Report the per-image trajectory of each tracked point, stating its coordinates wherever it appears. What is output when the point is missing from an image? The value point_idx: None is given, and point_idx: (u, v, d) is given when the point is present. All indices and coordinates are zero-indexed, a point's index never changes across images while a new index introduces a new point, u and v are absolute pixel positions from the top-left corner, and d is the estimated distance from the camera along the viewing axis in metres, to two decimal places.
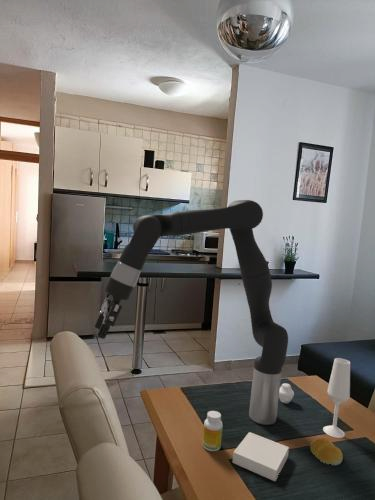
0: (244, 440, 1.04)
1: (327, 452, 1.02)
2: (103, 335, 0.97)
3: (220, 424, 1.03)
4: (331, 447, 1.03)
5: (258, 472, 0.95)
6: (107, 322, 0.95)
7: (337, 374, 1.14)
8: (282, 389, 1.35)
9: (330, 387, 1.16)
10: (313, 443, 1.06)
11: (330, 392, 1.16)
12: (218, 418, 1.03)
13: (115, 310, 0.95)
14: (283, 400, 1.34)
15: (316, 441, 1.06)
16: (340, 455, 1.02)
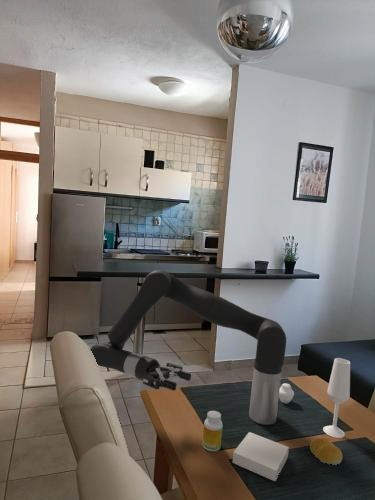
0: (244, 440, 1.04)
1: (327, 452, 1.02)
2: (171, 386, 1.05)
3: (220, 424, 1.03)
4: (331, 447, 1.03)
5: (258, 472, 0.95)
6: (156, 387, 1.06)
7: (337, 374, 1.14)
8: (282, 389, 1.35)
9: (330, 387, 1.16)
10: (313, 443, 1.06)
11: (330, 392, 1.16)
12: (218, 418, 1.03)
13: (146, 381, 1.08)
14: (283, 400, 1.34)
15: (315, 440, 1.07)
16: (340, 455, 1.02)
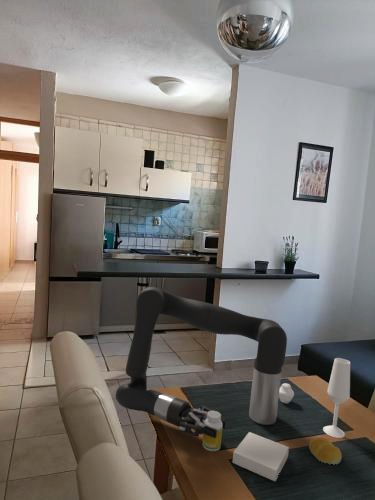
0: (244, 440, 1.04)
1: (326, 451, 1.02)
2: (211, 433, 1.00)
3: (220, 424, 1.03)
4: (330, 446, 1.04)
5: (258, 472, 0.95)
6: (196, 434, 1.01)
7: (337, 374, 1.14)
8: (282, 389, 1.35)
9: (330, 387, 1.16)
10: (312, 442, 1.06)
11: (330, 392, 1.16)
12: (218, 418, 1.03)
13: (184, 428, 1.02)
14: (283, 400, 1.34)
15: (315, 440, 1.07)
16: (339, 454, 1.02)
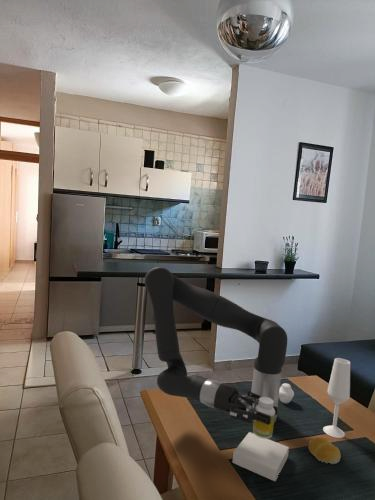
0: (244, 440, 1.04)
1: (325, 451, 1.02)
2: (265, 419, 0.95)
3: (273, 410, 0.98)
4: (329, 446, 1.04)
5: (258, 472, 0.95)
6: (249, 420, 0.96)
7: (337, 374, 1.14)
8: (282, 389, 1.35)
9: (330, 387, 1.16)
10: (311, 442, 1.07)
11: (330, 392, 1.16)
12: (271, 404, 0.98)
13: (235, 414, 0.97)
14: (283, 400, 1.34)
15: (314, 440, 1.07)
16: (338, 454, 1.02)
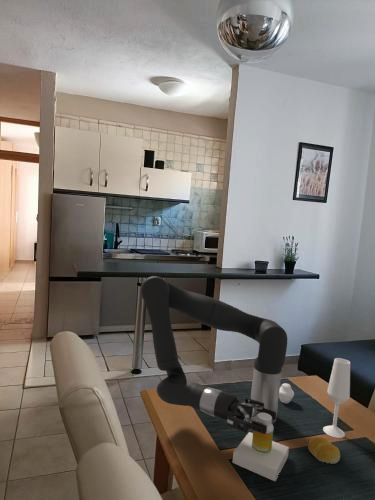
0: (244, 440, 1.04)
1: (325, 450, 1.02)
2: (261, 429, 0.95)
3: (271, 426, 0.99)
4: (329, 446, 1.04)
5: (258, 472, 0.95)
6: (244, 430, 0.95)
7: (337, 374, 1.14)
8: (282, 389, 1.35)
9: (330, 387, 1.16)
10: (311, 442, 1.07)
11: (330, 392, 1.16)
12: (269, 420, 0.98)
13: (232, 422, 0.97)
14: (283, 400, 1.34)
15: (313, 439, 1.07)
16: (338, 454, 1.02)
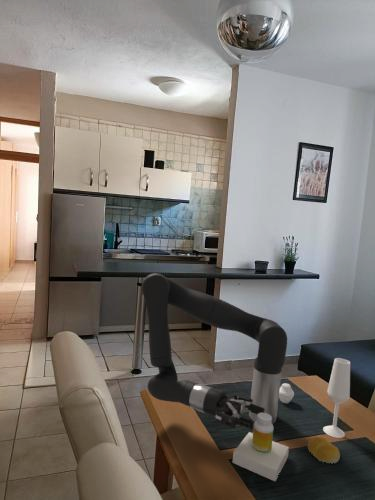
0: (244, 440, 1.04)
1: (325, 450, 1.02)
2: (248, 424, 0.96)
3: (271, 427, 0.99)
4: (328, 446, 1.04)
5: (258, 472, 0.95)
6: (231, 425, 0.97)
7: (337, 374, 1.14)
8: (282, 389, 1.35)
9: (330, 387, 1.16)
10: (310, 442, 1.07)
11: (330, 392, 1.16)
12: (269, 420, 0.98)
13: (220, 418, 0.99)
14: (283, 400, 1.34)
15: (313, 439, 1.07)
16: (337, 453, 1.02)
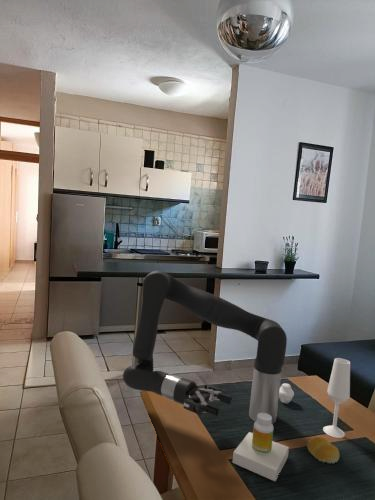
0: (244, 440, 1.04)
1: (324, 450, 1.02)
2: (214, 411, 1.02)
3: (271, 427, 0.99)
4: (328, 445, 1.04)
5: (258, 472, 0.95)
6: (198, 412, 1.02)
7: (337, 374, 1.14)
8: (282, 389, 1.35)
9: (330, 387, 1.16)
10: (310, 442, 1.07)
11: (330, 392, 1.16)
12: (269, 420, 0.98)
13: (188, 405, 1.04)
14: (283, 400, 1.34)
15: (313, 439, 1.07)
16: (337, 453, 1.02)
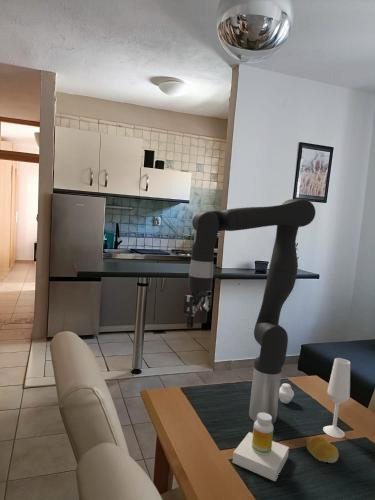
0: (244, 440, 1.04)
1: (323, 450, 1.02)
2: (189, 325, 1.10)
3: (271, 426, 0.99)
4: (327, 445, 1.04)
5: (258, 472, 0.95)
6: (184, 312, 1.08)
7: (337, 374, 1.14)
8: (282, 389, 1.35)
9: (330, 387, 1.16)
10: (309, 441, 1.07)
11: (330, 392, 1.16)
12: (269, 420, 0.98)
13: (188, 301, 1.08)
14: (283, 400, 1.34)
15: (312, 439, 1.07)
16: (336, 453, 1.03)
